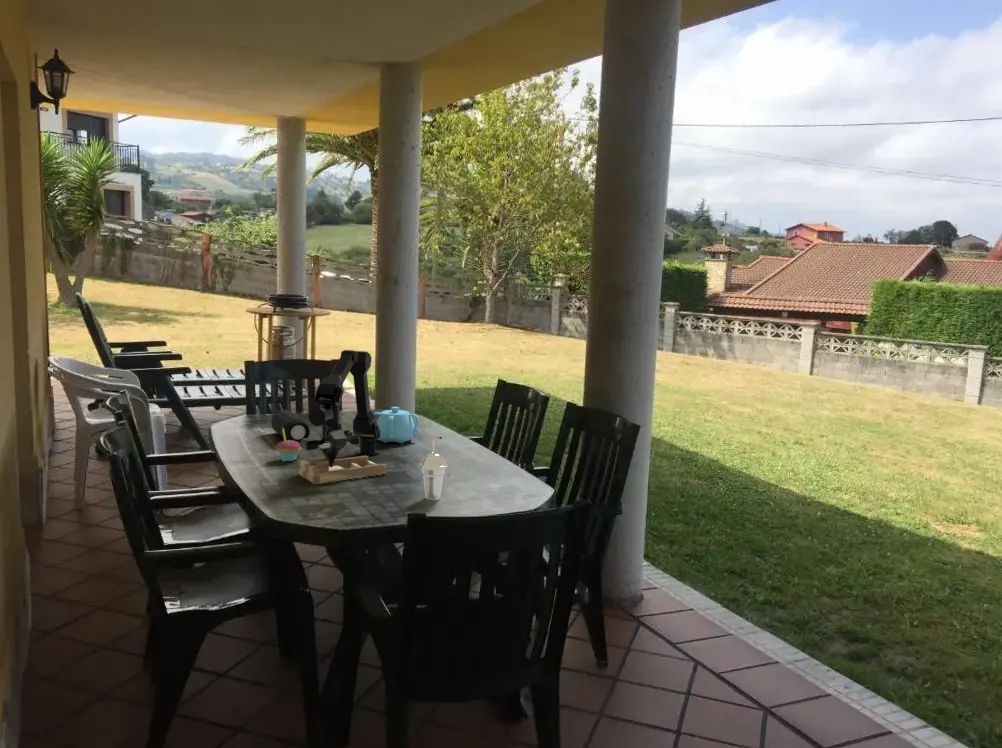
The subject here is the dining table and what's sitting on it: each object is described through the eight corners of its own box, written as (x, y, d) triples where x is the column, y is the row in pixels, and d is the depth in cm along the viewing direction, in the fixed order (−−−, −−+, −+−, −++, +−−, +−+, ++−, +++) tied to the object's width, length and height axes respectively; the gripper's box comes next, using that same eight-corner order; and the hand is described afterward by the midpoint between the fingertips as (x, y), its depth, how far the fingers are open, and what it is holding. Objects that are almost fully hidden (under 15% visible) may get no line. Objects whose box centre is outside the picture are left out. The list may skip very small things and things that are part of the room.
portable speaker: (311, 444, 306) (311, 419, 304) (286, 447, 301) (285, 421, 299) (294, 431, 328) (293, 407, 326) (269, 433, 323) (269, 409, 321)
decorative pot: (404, 435, 327) (405, 402, 325) (422, 442, 313) (423, 408, 312) (367, 438, 318) (367, 405, 316) (384, 447, 305) (384, 412, 303)
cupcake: (276, 463, 276) (275, 429, 274) (276, 457, 284) (275, 424, 282) (301, 462, 278) (301, 429, 276) (301, 456, 286) (300, 424, 285)
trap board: (298, 474, 262) (298, 460, 262) (367, 465, 277) (367, 451, 276) (315, 485, 251) (315, 469, 251) (386, 474, 266) (386, 459, 265)
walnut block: (310, 471, 259) (310, 459, 259) (323, 469, 262) (323, 457, 262) (315, 474, 256) (315, 462, 255) (328, 472, 259) (328, 460, 258)
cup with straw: (447, 494, 245) (448, 430, 243) (446, 502, 236) (447, 436, 234) (419, 493, 245) (420, 430, 242) (417, 502, 236) (418, 436, 233)
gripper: (313, 427, 247) (313, 476, 249) (367, 421, 258) (367, 468, 260) (299, 421, 256) (299, 468, 258) (352, 415, 267) (352, 461, 269)
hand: (330, 466), depth 261 cm, fingers closed
